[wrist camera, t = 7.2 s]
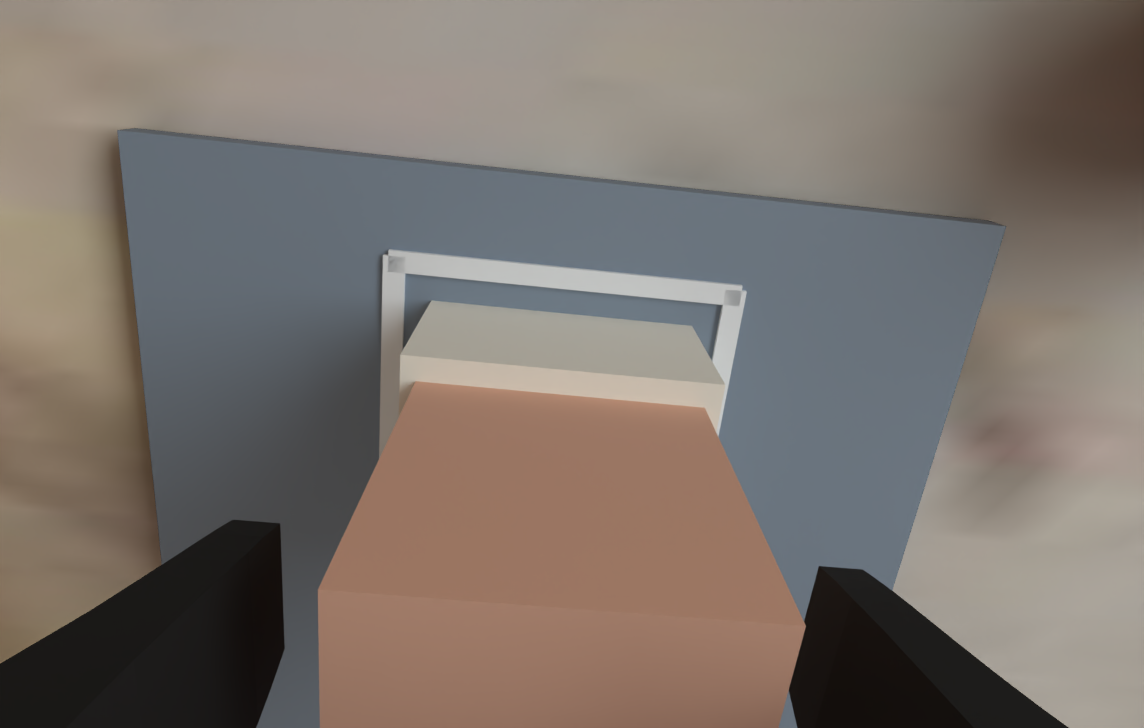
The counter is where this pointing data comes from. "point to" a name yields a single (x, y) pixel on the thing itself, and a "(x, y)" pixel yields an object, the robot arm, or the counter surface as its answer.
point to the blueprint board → (311, 342)
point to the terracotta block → (553, 574)
